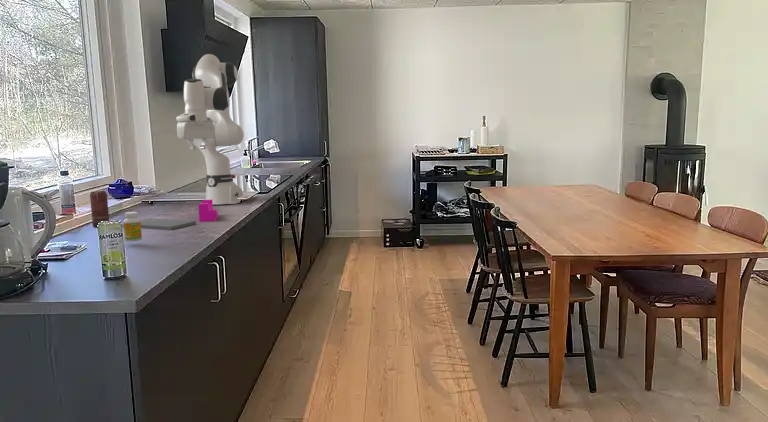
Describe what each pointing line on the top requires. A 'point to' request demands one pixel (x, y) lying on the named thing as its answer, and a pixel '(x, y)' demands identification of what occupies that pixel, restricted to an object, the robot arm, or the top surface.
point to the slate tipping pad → (165, 223)
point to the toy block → (207, 211)
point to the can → (99, 207)
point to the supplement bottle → (132, 227)
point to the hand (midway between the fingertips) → (198, 149)
